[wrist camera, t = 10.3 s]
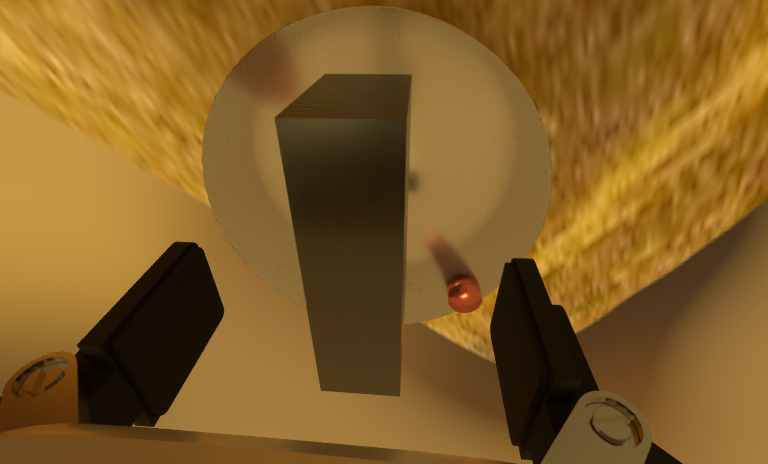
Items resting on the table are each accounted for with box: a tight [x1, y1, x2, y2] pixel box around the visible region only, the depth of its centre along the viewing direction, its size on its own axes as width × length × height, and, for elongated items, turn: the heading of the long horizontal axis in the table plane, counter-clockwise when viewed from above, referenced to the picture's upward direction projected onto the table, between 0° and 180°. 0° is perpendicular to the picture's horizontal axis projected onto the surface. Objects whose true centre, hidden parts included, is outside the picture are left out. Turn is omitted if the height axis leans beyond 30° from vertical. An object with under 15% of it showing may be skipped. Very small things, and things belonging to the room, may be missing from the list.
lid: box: [202, 5, 552, 396], centre depth 15 cm, size 15×15×8 cm
